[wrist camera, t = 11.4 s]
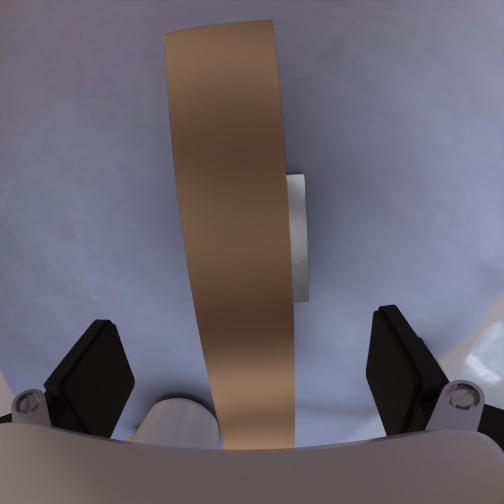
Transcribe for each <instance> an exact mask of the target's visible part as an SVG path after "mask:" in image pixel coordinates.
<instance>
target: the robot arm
mask: <svg viewBox="0 0 504 504" xmlns="http://www.w3.org/2000/svg"><path fill="white" fill-rule="evenodd" d="M366 378H367V381H368V384H369V386H370V389H371V392H372V395H373V397H374V400H375V403H376V406H377V409H378V412H379V415H380V417H381V420H382V423H383V426H384V429H385V432H386V435H387V436H386V437H380V438H374V439H368V440H362V441H354V442H347V443H339V444H330V445H322V446H311V447H299V448H284V449H257V450H224V449H198V448H183V447H171V446H161V445H151V444H143V443H136V442H129V441H122V440H116V439H110V437H111V435H112V433H113V431H114V429H115V426H116V424H117V422H118V420H119V418H120V415H121V413H122V411H123V409H124V407H125V405H126V402H127V400H128V398H129V396H130V394H131V392H132V390H133V388H134V384H135V381H134V376H133V374H132V371H131V368H130V366H129V363H128V360H127V357H126V354H125V352H124V349H123V346H122V343H121V340H120V337H119V334H118V331H117V328H116V325H115V324H112V322H111V321H110V320H95V321H94V322H93V323H92V324H91V325H90V326H89V328H88V329H87V330H86V331H85V333H84V334H83V335H82V336H81V337H80V339H79V340H78V341H77V342H76V344H75V345H74V346H73V347H72V349H71V350H70V351H69V352H68V354H67V355H66V356H65V357H64V359H63V360H62V361H61V363H60V364H59V365H58V366H57V368H56V369H55V370H54V372H53V373H52V374H51V375H50V377H49V378H48V379H47V381H46V382H45V383H44V387H45V389H46V392H45V393H43V392H42V391H40V390H37V389H30V390H26V391H24V392H22V393H20V394H19V395H18V396H17V397H16V398H15V399H14V400H13V403H12V407H11V410H12V413H10V414H7V415H5V416H2V417H0V504H504V410H502V409H499V408H496V407H493V406H490V405H487V404H484V402H485V396H484V393H483V391H482V390H481V388H480V387H479V386H477V385H476V384H475V383H472V382H470V381H466V380H455V381H452V382H450V381H449V380H448V378H447V377H446V375H445V373H444V372H443V370H442V369H441V367H440V366H439V364H438V362H437V361H436V359H435V358H434V356H433V355H432V353H431V352H430V350H429V349H428V347H427V346H426V344H425V343H424V341H423V340H422V339H421V338H419V337H417V335H416V334H415V332H414V331H413V329H412V328H411V326H410V325H409V323H408V322H407V321H406V319H405V318H404V316H403V315H402V313H401V312H400V310H399V309H398V308H397V306H396V305H387V306H380V307H379V309H378V311H374V313H373V321H372V330H371V338H370V346H369V353H368V360H367V367H366Z"/></svg>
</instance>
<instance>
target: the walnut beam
mask: <svg viewBox="0 0 504 504" xmlns="http://www.w3.org/2000/svg"><path fill="white" fill-rule="evenodd" d="M165 56H166V75H167V90H168V104H169V117H170V128H171V139H172V149H173V159H174V169H175V177H176V186H177V194H178V202H179V210H180V218H181V225H182V232H183V239H184V246H185V253H186V259H187V266H188V272H189V278H190V284H191V290H192V296H193V302H194V307H195V313H196V318H197V324H198V329H199V334H200V340H201V345H202V350H203V355H204V360H205V365H206V369H207V374H208V379H209V383H210V388H211V392H212V397H213V401H214V406H215V410H216V414H217V419H218V423H219V427H220V431H221V435H222V439H223V443H224V447H225V450H257V449H284V448H294V442H295V375H294V321H293V289H292V263H291V242H290V222H289V205H288V188H287V173H286V159H285V146H284V133H283V121H282V109H281V98H280V87H279V77H278V67H277V57H276V48H275V39H274V30H273V22H272V20H260V21H247V22H236V23H227V24H219V25H211V26H205V27H198V28H192V29H186V30H181V31H176V32H171V33H166V34H165Z"/></svg>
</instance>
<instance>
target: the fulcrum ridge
mask: <svg viewBox="0 0 504 504" xmlns="http://www.w3.org/2000/svg"><path fill="white" fill-rule="evenodd" d="M287 188H288V205H289V222H290V242H291V263H292V289H293V302H305V301H309V284H308V245H307V219H306V198H305V180H304V174H303V173H288V174H287Z"/></svg>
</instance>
